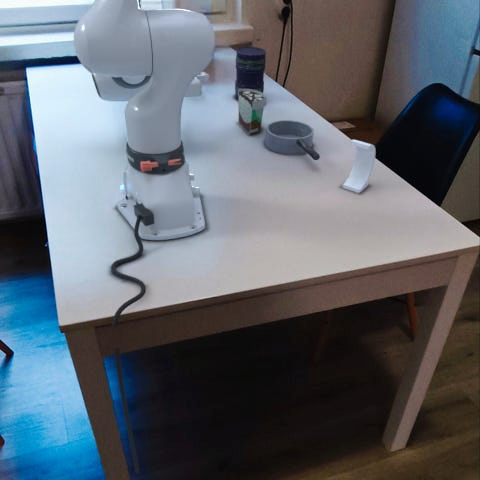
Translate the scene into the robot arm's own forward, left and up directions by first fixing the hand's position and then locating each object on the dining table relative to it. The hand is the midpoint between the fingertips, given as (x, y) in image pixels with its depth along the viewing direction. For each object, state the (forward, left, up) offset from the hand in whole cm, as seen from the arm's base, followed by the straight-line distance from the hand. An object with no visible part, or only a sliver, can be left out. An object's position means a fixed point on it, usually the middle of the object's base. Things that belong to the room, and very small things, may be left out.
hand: (207, 76), depth 132 cm
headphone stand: (-40, -26, -16) cm, 50 cm away
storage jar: (+26, -23, -16) cm, 38 cm away
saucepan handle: (-24, -20, -14) cm, 34 cm away
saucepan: (-13, -20, -16) cm, 29 cm away
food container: (+1, -15, -16) cm, 22 cm away
